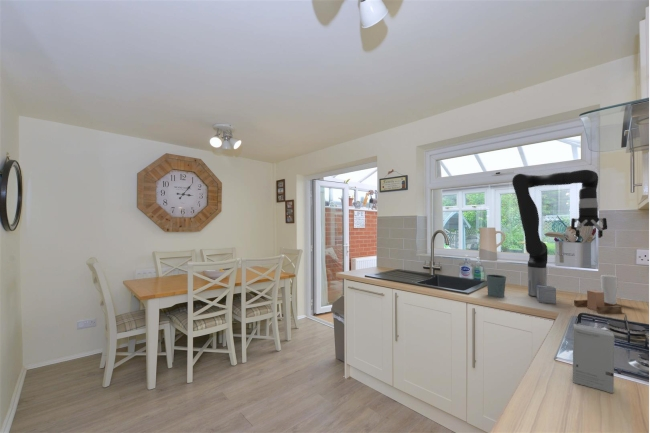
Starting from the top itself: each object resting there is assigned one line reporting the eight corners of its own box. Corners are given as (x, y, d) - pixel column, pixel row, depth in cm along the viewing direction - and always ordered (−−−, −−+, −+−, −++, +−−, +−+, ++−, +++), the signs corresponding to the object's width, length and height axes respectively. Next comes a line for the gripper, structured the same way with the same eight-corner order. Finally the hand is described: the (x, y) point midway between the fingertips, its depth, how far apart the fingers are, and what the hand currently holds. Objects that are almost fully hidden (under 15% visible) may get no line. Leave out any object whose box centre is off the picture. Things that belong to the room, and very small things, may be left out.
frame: (599, 313, 141) (599, 307, 142) (574, 305, 154) (574, 300, 155) (621, 312, 142) (621, 306, 142) (595, 305, 155) (595, 299, 155)
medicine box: (554, 302, 162) (553, 286, 162) (556, 304, 158) (556, 288, 158) (536, 300, 165) (536, 285, 166) (538, 302, 161) (538, 286, 162)
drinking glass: (621, 305, 156) (621, 277, 156) (607, 304, 157) (606, 276, 157) (612, 301, 162) (611, 274, 163) (597, 301, 164) (597, 274, 164)
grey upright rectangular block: (572, 383, 79) (571, 328, 80) (572, 374, 84) (571, 322, 84) (616, 394, 74) (614, 335, 74) (613, 384, 78) (612, 329, 79)
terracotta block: (596, 310, 146) (595, 292, 146) (587, 308, 151) (587, 290, 151) (604, 310, 146) (604, 292, 147) (595, 307, 151) (595, 290, 151)
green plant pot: (485, 293, 183) (485, 273, 183) (504, 294, 179) (504, 275, 179) (488, 296, 173) (487, 276, 174) (507, 298, 170) (507, 277, 170)
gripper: (604, 207, 156) (604, 237, 155) (569, 208, 163) (570, 237, 163) (608, 206, 149) (608, 238, 149) (572, 207, 157) (572, 237, 156)
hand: (588, 237), depth 156 cm, fingers open, 8 cm apart
